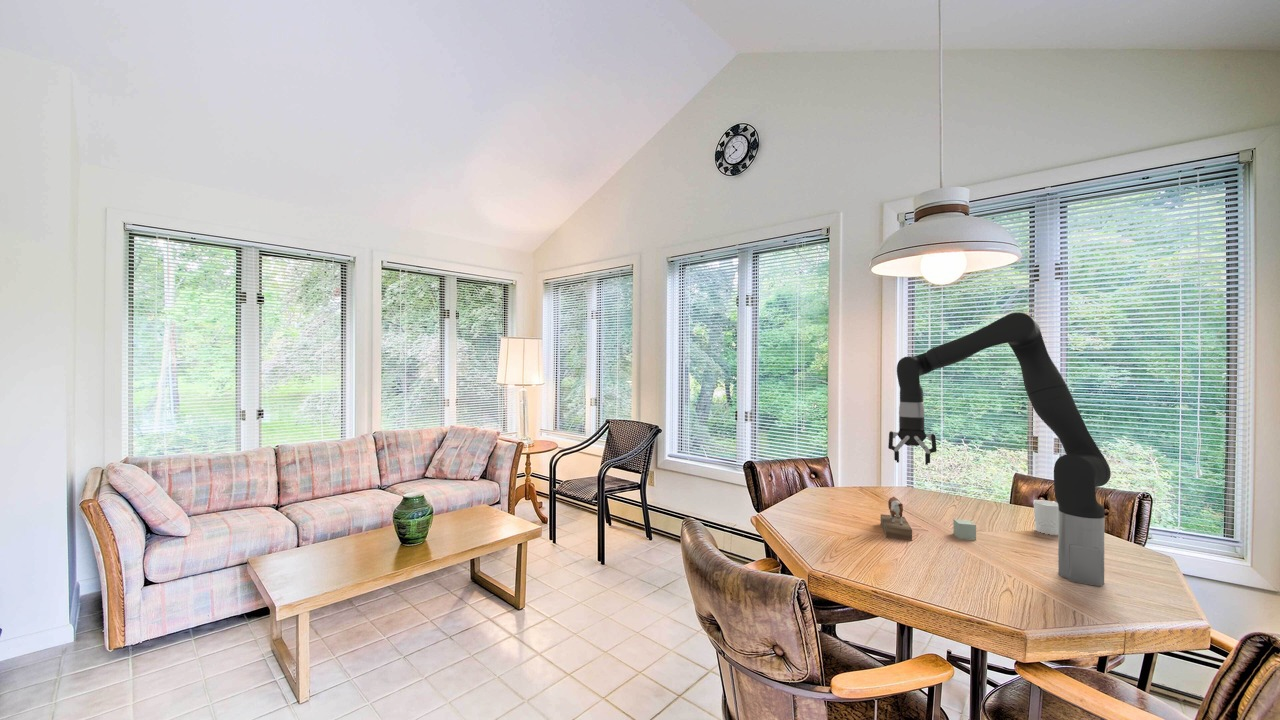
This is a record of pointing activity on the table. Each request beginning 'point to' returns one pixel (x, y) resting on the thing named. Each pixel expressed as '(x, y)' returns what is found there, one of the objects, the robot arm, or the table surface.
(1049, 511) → the light grey block
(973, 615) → the table surface
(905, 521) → the pedestal
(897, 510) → the bull figurine
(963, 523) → the sage cube
